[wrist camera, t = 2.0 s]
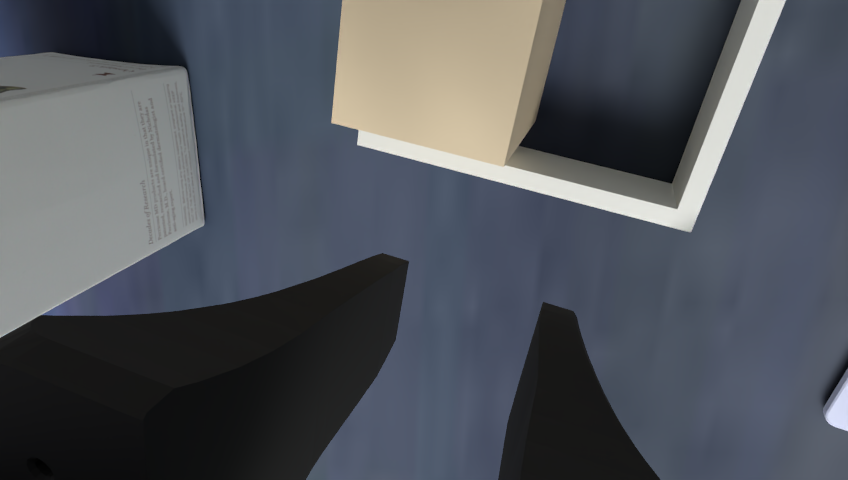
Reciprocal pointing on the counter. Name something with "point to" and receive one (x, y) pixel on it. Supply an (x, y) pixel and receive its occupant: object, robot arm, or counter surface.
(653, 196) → the tray
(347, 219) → the counter surface
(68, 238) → the supplement box
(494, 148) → the kraft carton
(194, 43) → the counter surface
